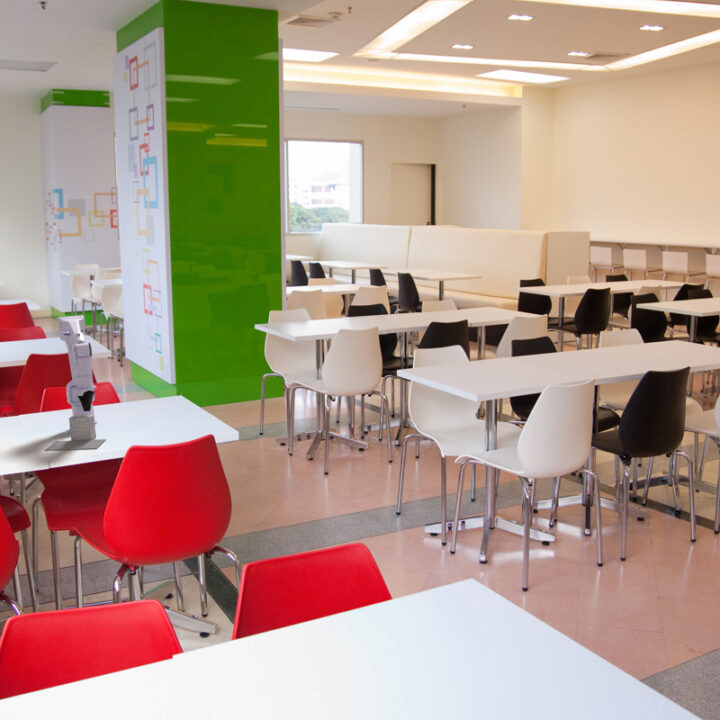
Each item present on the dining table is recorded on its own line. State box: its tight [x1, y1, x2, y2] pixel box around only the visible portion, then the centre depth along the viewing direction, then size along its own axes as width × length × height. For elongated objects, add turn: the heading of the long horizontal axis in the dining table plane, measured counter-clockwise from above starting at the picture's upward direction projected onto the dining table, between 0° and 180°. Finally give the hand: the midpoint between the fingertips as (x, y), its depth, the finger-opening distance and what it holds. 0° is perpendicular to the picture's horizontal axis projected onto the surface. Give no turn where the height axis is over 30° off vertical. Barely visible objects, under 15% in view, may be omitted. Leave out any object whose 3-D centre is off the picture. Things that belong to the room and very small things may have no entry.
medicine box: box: [68, 414, 97, 440], centre depth 305 cm, size 8×4×9 cm, turn 84°
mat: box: [44, 438, 107, 452], centre depth 297 cm, size 12×18×1 cm, turn 92°
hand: (87, 410), depth 311 cm, fingers closed
